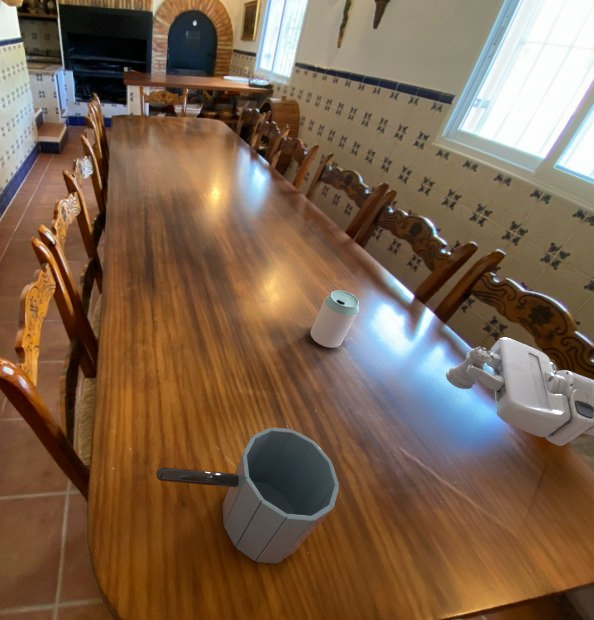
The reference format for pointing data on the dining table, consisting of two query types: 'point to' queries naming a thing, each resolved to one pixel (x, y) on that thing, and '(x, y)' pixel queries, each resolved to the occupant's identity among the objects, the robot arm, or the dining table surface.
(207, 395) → the dining table surface
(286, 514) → the pot
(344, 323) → the can
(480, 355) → the rook chess piece
